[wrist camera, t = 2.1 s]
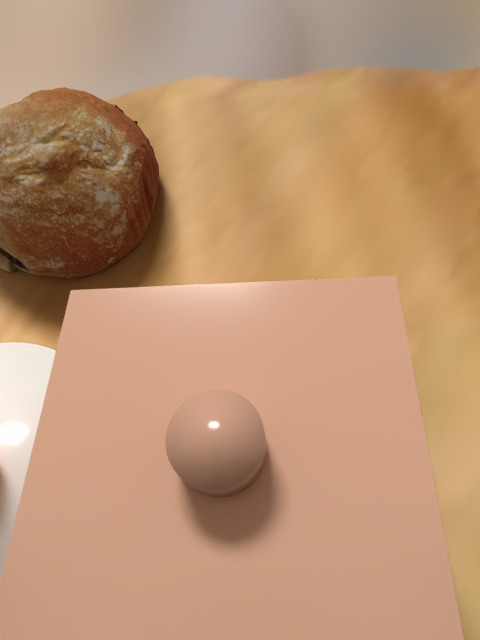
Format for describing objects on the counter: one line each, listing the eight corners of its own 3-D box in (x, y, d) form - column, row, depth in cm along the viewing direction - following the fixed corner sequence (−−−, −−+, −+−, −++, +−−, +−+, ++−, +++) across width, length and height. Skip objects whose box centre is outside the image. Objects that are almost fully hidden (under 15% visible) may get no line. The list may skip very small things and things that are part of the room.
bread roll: (9, 267, 28) (-126, 230, 20) (60, 110, 28) (-54, 14, 20) (144, 313, 25) (49, 292, 17) (202, 140, 25) (132, 43, 17)
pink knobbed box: (372, 636, 14) (505, 739, 5) (147, 629, 14) (-67, 710, 6) (348, 412, 17) (403, 251, 9) (168, 415, 18) (54, 268, 9)
